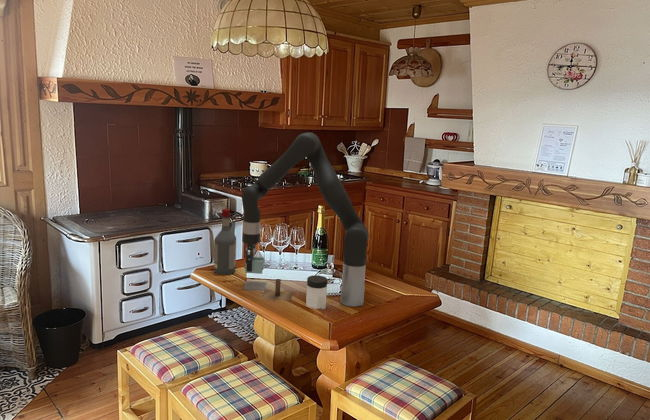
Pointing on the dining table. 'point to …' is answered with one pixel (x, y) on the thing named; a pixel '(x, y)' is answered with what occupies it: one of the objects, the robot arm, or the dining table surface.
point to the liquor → (225, 248)
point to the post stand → (277, 293)
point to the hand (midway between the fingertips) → (250, 268)
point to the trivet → (255, 285)
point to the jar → (316, 292)
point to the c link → (256, 265)
